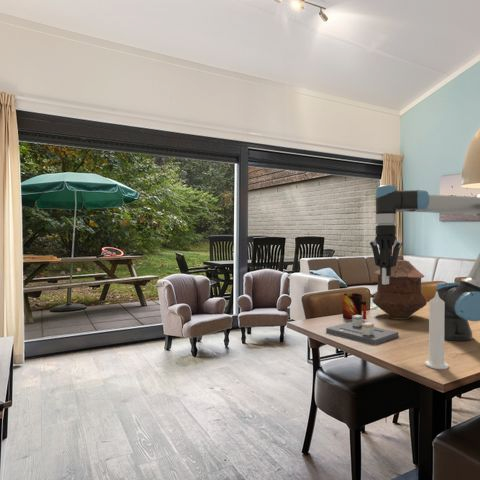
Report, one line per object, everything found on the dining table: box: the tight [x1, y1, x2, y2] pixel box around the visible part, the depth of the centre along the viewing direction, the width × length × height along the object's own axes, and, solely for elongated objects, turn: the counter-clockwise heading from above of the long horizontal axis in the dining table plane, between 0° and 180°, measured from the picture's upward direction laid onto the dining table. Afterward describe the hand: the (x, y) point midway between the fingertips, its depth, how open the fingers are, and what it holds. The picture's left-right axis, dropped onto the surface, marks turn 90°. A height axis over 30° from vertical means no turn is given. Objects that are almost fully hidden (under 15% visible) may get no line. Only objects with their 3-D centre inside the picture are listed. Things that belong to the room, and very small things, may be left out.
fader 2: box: [362, 321, 375, 336], centre depth 157 cm, size 3×4×4 cm
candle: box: [424, 290, 450, 370], centre depth 126 cm, size 7×7×25 cm
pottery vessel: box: [371, 259, 427, 320], centre depth 198 cm, size 26×26×30 cm
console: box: [325, 321, 399, 346], centre depth 165 cm, size 24×18×2 cm
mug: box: [342, 292, 367, 321], centre depth 196 cm, size 10×14×12 cm
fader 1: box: [351, 315, 364, 327], centre depth 172 cm, size 3×4×4 cm
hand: (385, 283), depth 151 cm, fingers closed
